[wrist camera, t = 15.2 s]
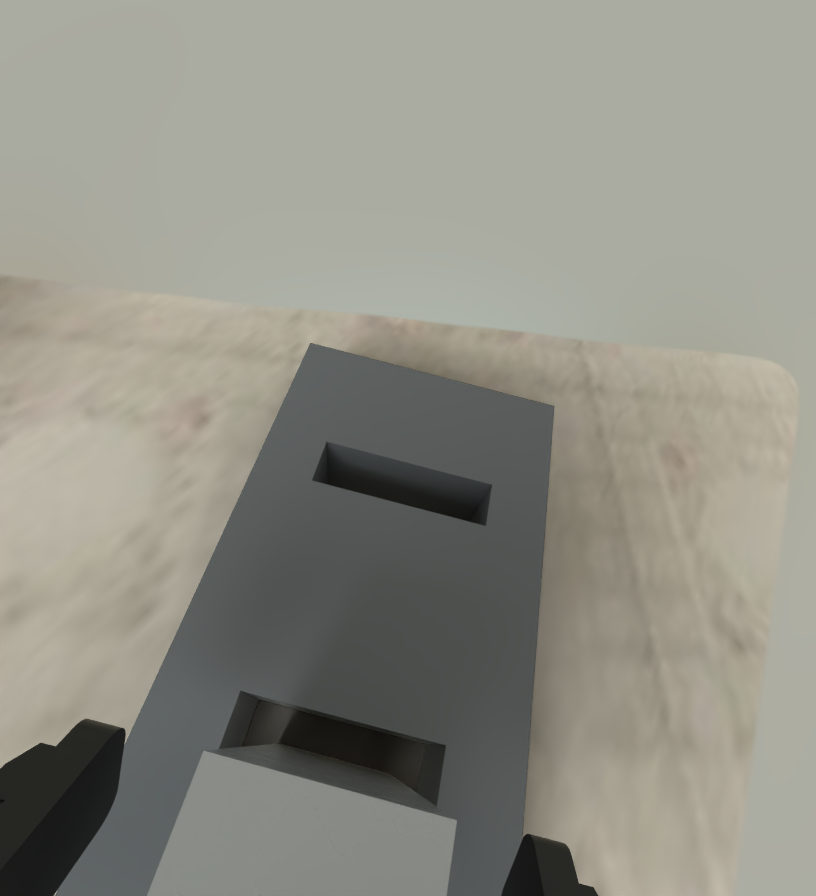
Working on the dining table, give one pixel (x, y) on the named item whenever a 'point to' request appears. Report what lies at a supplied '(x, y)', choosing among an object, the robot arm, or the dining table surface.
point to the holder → (361, 608)
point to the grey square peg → (302, 830)
